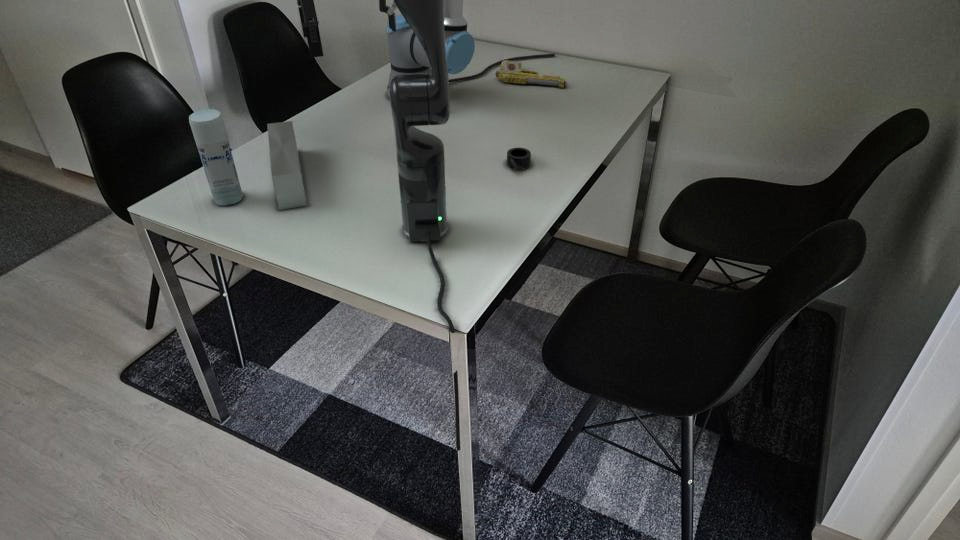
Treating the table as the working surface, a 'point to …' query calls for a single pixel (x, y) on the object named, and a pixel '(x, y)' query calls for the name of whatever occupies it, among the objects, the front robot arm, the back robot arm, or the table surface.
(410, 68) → the back robot arm
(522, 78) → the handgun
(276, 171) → the bar
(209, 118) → the spray paint can
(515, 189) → the table surface
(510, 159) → the duct tape
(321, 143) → the table surface
